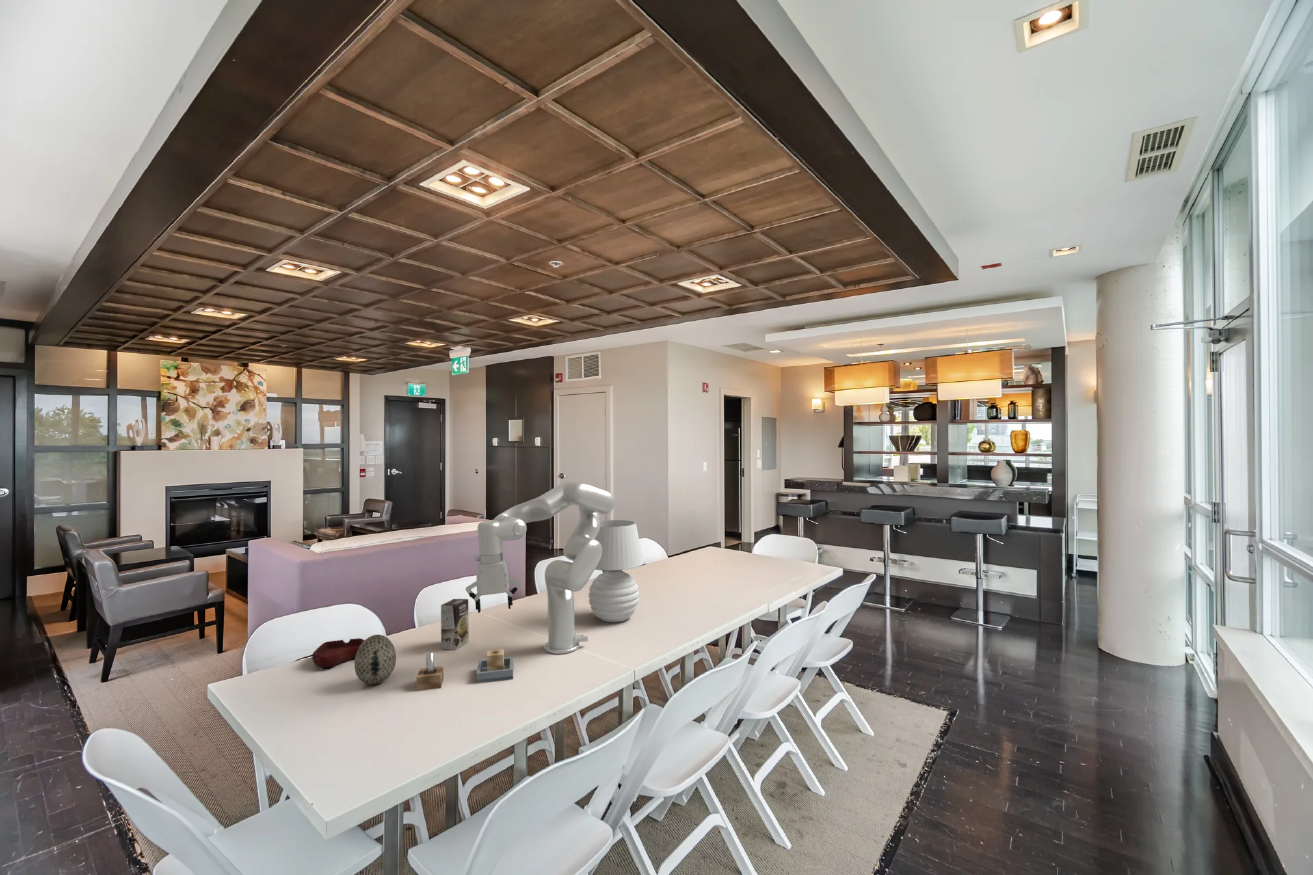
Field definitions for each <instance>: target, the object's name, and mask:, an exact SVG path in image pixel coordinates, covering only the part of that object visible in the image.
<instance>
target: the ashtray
mask: <svg viewBox="0 0 1313 875" xmlns="http://www.w3.org/2000/svg"><path fill="white" fill-rule="evenodd" d="M365 640H366V639H364V638H360V637H359V638H350V639H349V640H348V641H347V642H346V641H344V639H340V640H339V639H338V640H337V639H336V640H331V641H325V642H323V643H322V644H320V645H319V646H318V647H317V648H316V649H315V650H314V651H313V652H312V657H311V658H312V662H313V663H314V665H316V666H317V667H320V668H322V669H323V670H330V669H332V668H334V666H336V665H338V664H342V663H346V662H349V661H350V660H353V659H355V657H356V653H357V651H358V649H359V647H360V645H361V644H362V643H363V642H364V641H365Z"/></svg>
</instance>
